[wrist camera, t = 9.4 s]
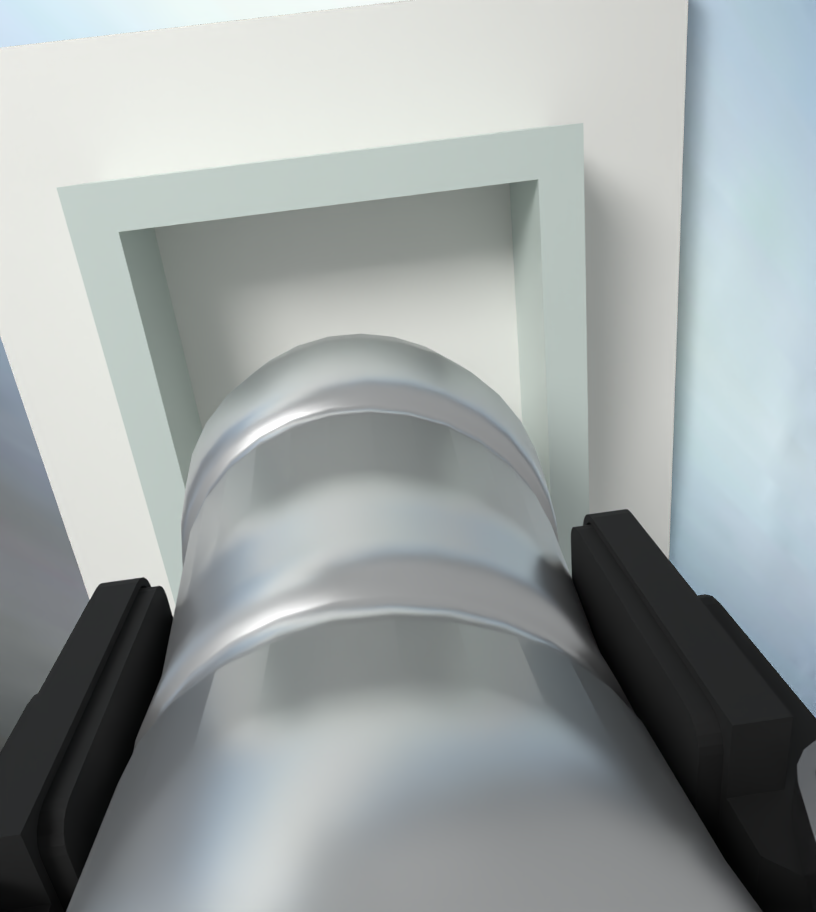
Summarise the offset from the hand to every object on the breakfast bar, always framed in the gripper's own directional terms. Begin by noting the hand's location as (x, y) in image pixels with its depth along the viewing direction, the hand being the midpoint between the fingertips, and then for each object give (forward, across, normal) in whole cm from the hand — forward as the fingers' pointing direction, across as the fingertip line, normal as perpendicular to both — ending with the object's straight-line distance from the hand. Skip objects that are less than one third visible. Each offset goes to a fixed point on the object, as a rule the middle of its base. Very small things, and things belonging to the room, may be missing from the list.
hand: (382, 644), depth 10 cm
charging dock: (+12, 0, 0) cm, 12 cm away
